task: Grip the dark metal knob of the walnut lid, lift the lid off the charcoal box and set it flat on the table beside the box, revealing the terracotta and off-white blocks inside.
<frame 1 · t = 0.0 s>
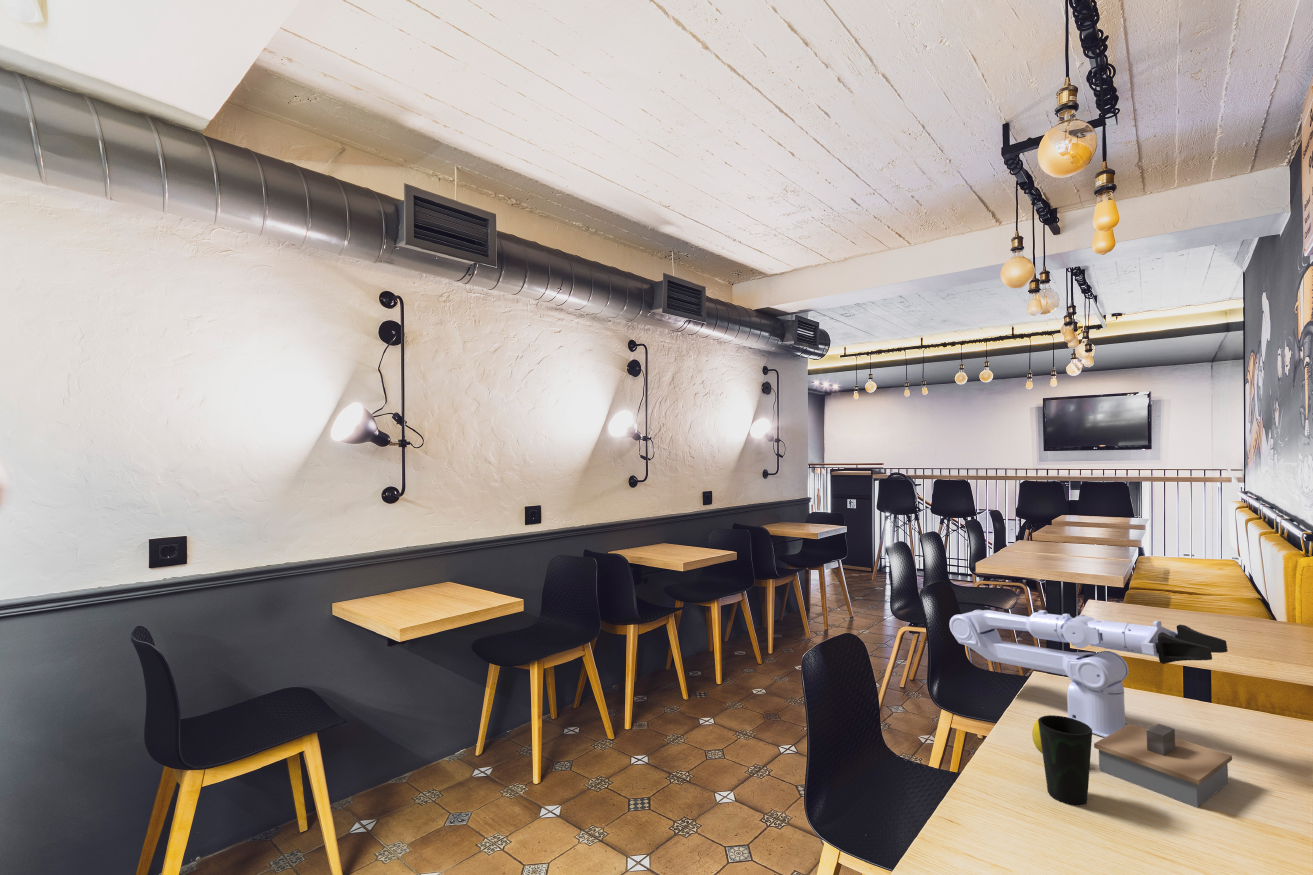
hand: (1218, 649, 111), 22 cm above the table, tool horizontal, fingers open, 7 cm apart
box: (1162, 776, 108), on the table
cup: (1067, 797, 102), on the table
offwhite block: (1174, 782, 105), point 1 cm above the table, touching box
lemon: (1049, 759, 115), on the table
terracotta block: (1151, 761, 112), point 1 cm above the table, touching box
lid: (1161, 753, 108), point 4 cm above the table, touching box
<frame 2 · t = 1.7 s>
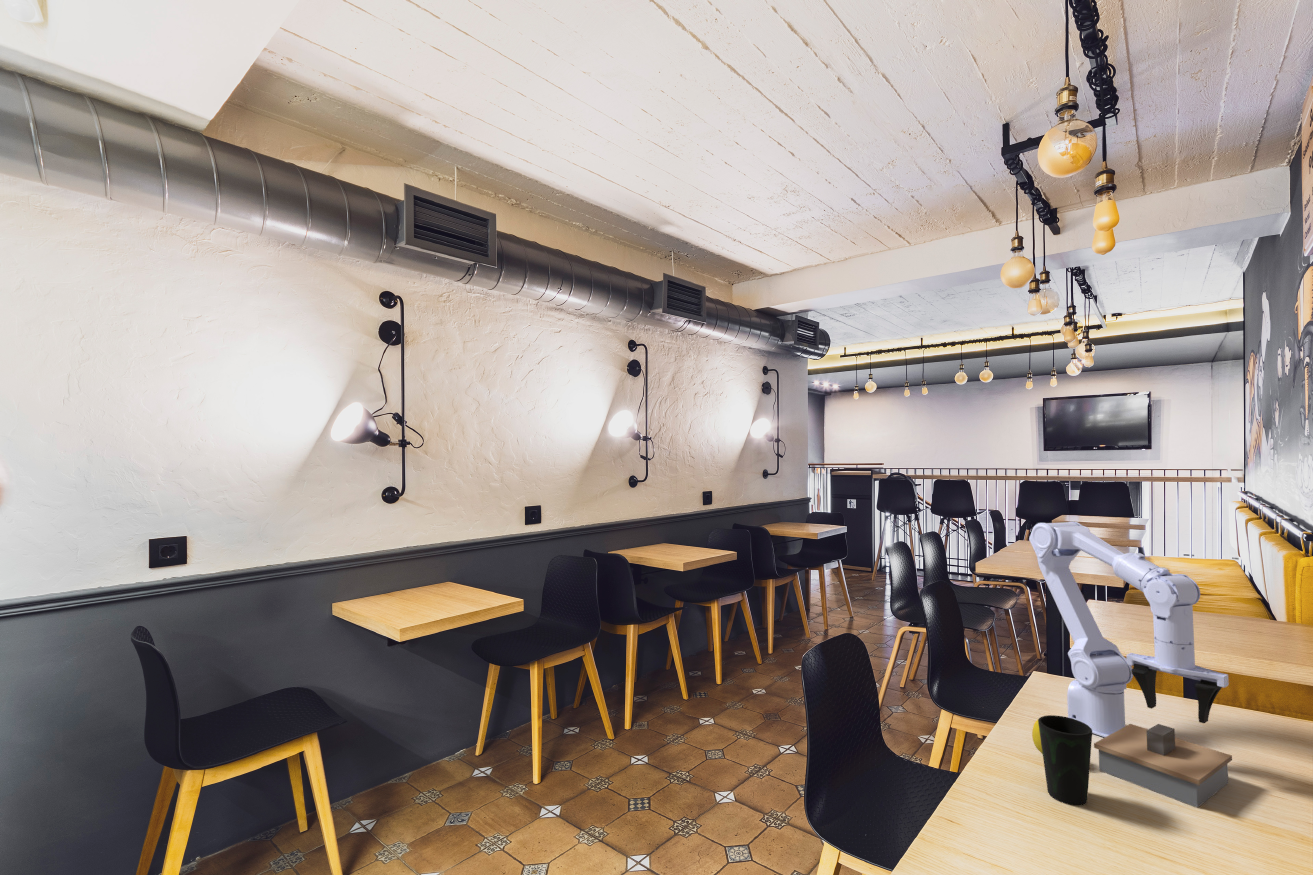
hand: (1176, 713, 112), 9 cm above the table, tool pointing down, fingers open, 7 cm apart
nothing on the table moved.
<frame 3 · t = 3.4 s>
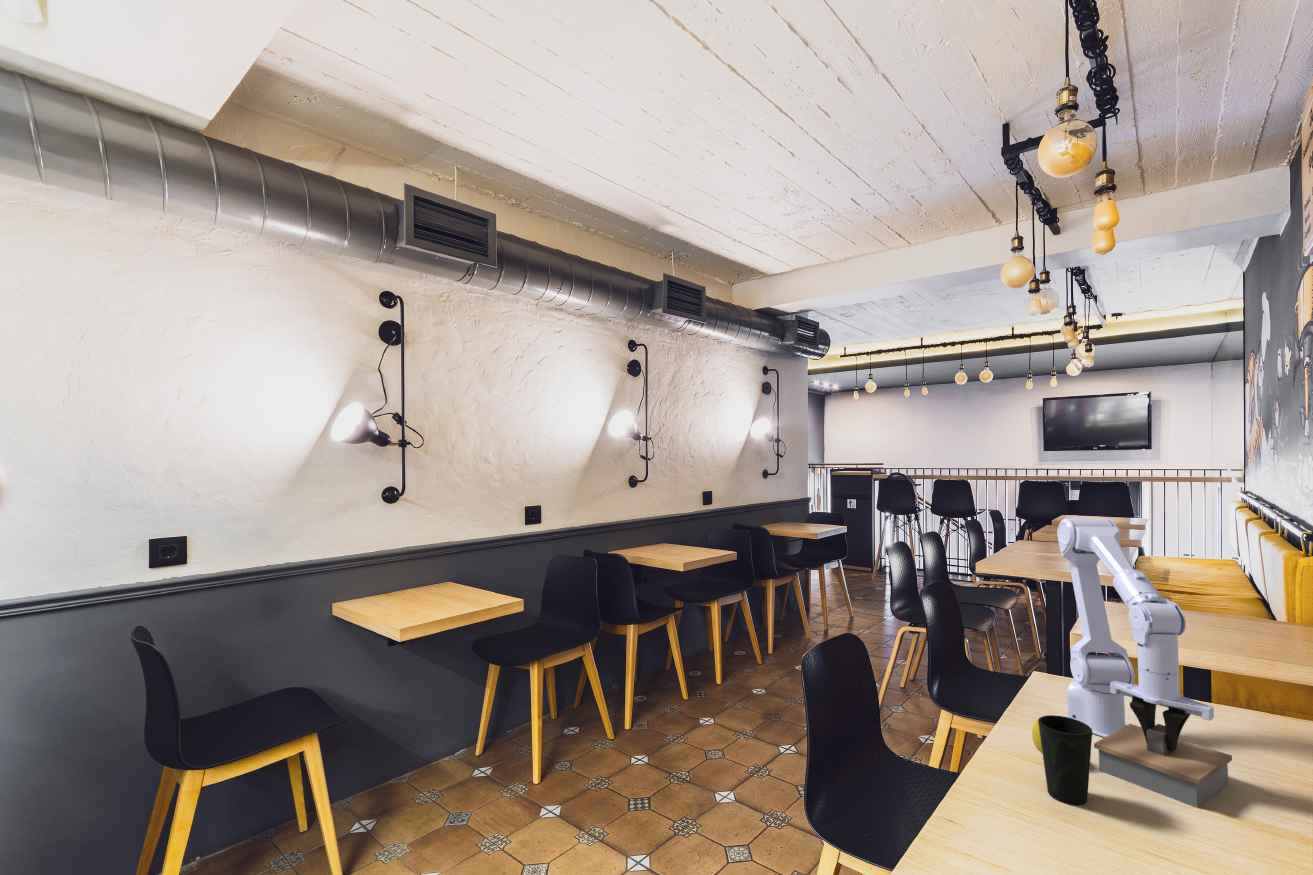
hand: (1161, 745, 108), 5 cm above the table, tool pointing down, fingers closed on lid, 2 cm apart
lid: (1161, 753, 108), point 4 cm above the table, touching box, gripper
everything else where it was.
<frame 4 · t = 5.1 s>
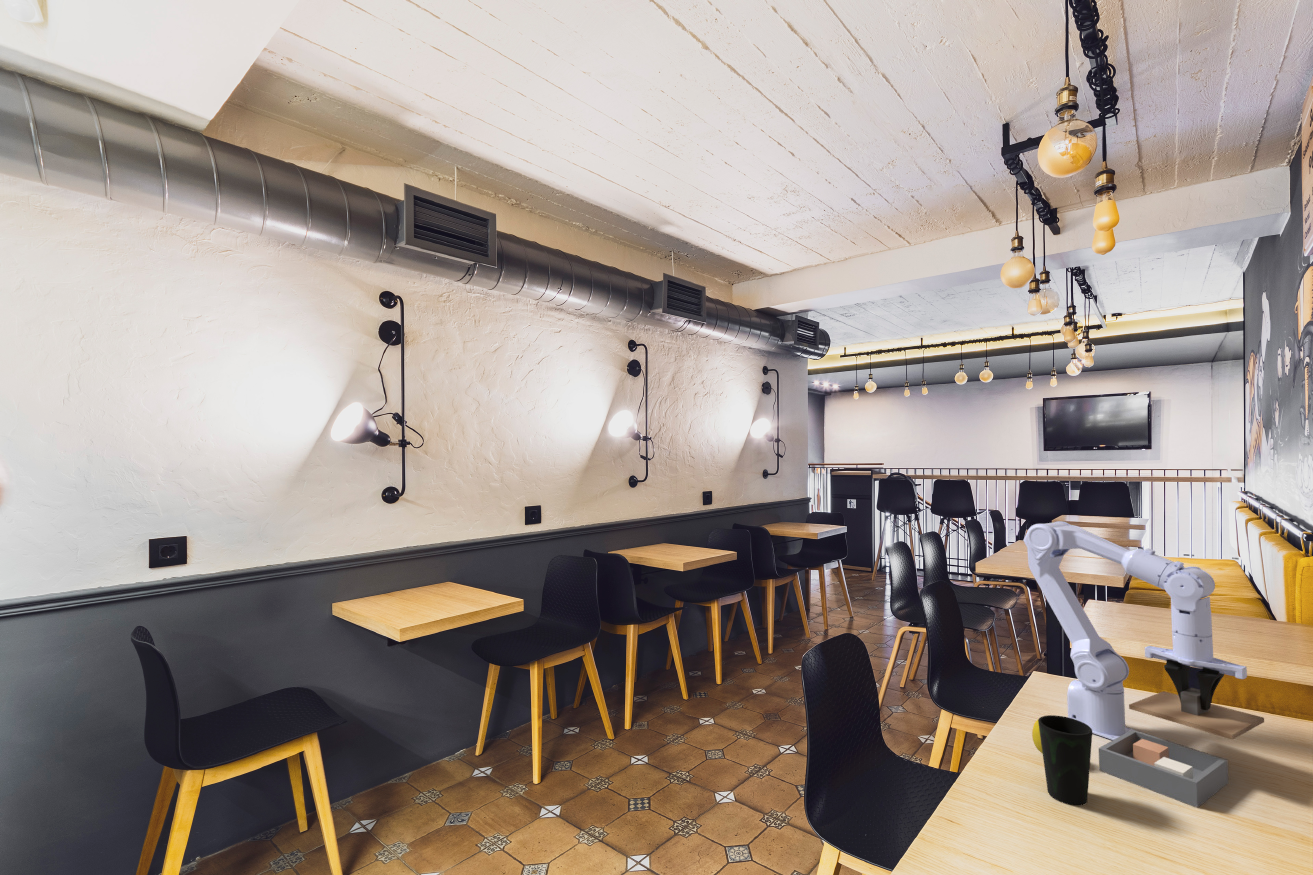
hand: (1195, 705, 113), 10 cm above the table, tool pointing down, fingers closed on lid, 2 cm apart
lid: (1195, 715, 113), point 9 cm above the table, touching gripper
everything else where it was.
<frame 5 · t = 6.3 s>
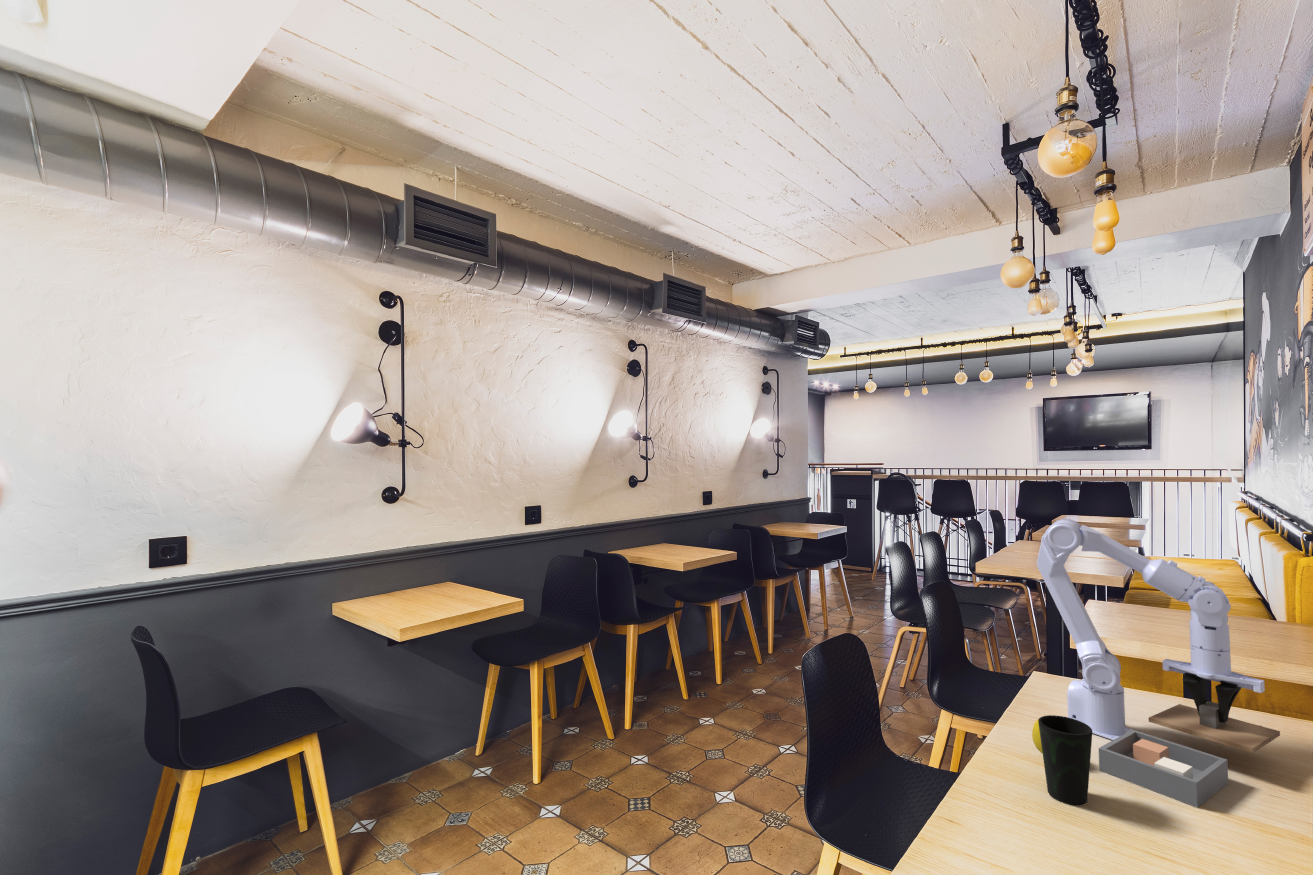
hand: (1213, 718, 116), 7 cm above the table, tool pointing down, fingers closed on lid, 2 cm apart
lid: (1212, 728, 116), point 5 cm above the table, touching gripper
everything else where it was.
when the fingers open (3 cm above the table, at t = 7.2 s): lid drops 2 cm, on the table.
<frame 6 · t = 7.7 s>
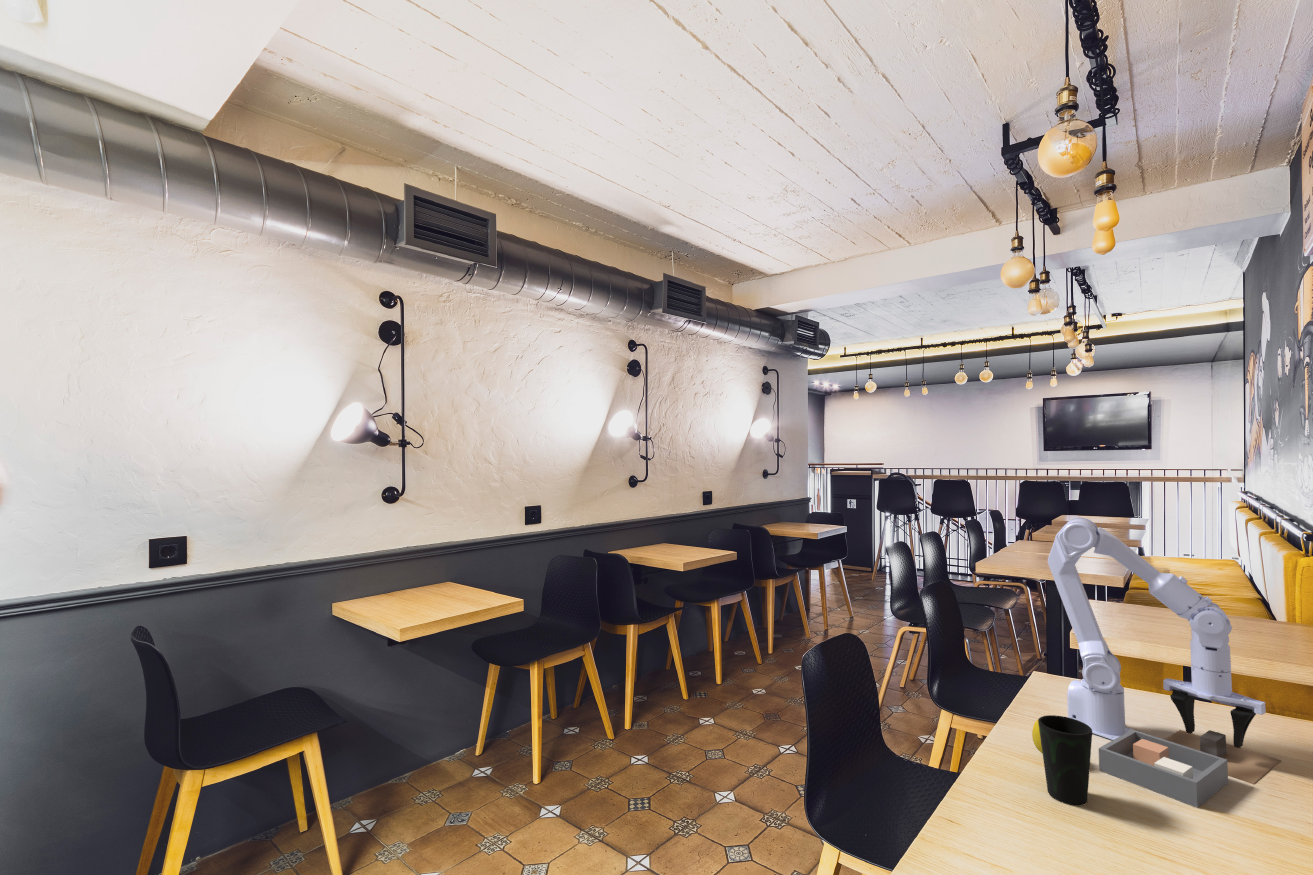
hand: (1213, 738, 116), 3 cm above the table, tool pointing down, fingers open, 6 cm apart
lid: (1213, 758, 116), on the table
everything else where it was.
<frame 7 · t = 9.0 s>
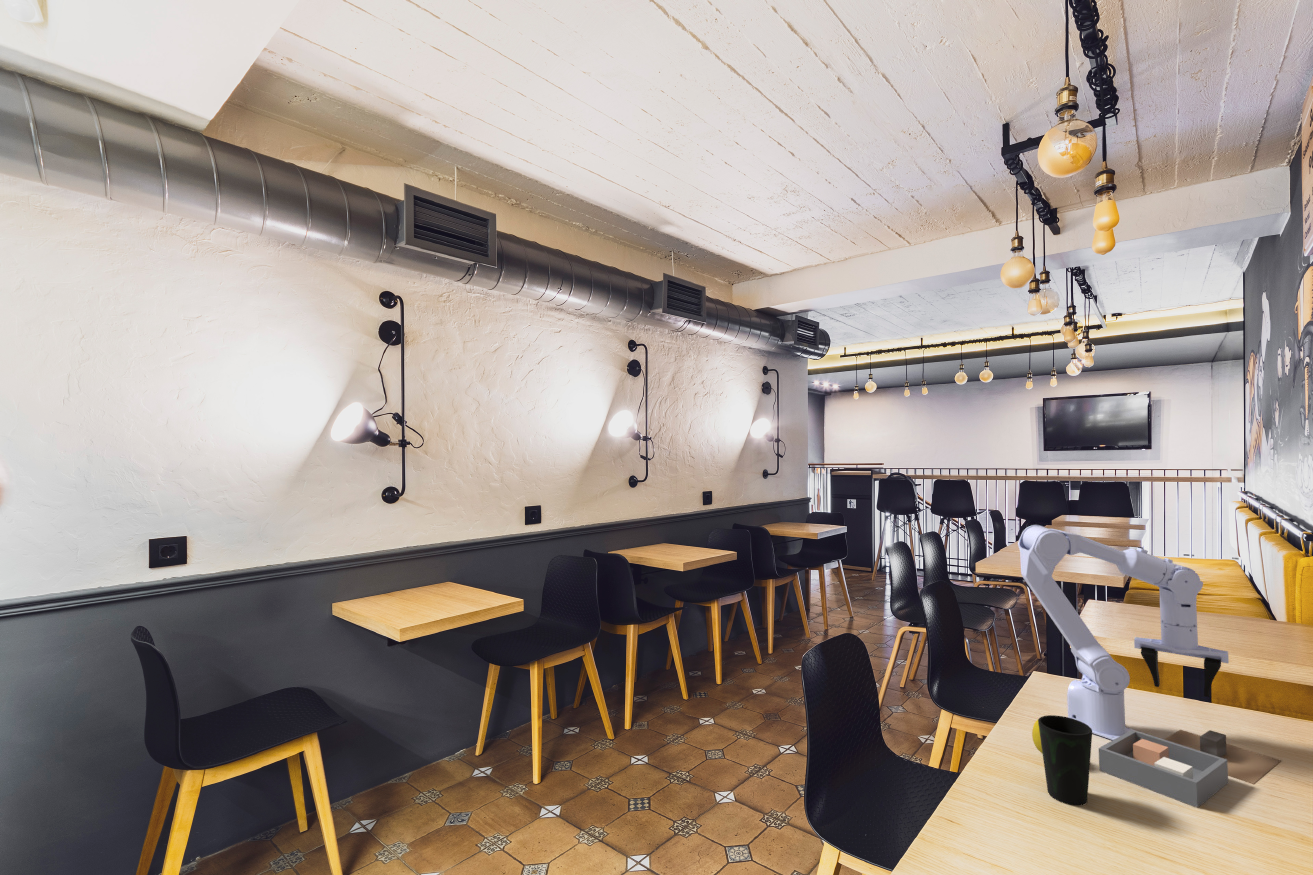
hand: (1181, 690, 123), 9 cm above the table, tool pointing down, fingers open, 7 cm apart
nothing on the table moved.
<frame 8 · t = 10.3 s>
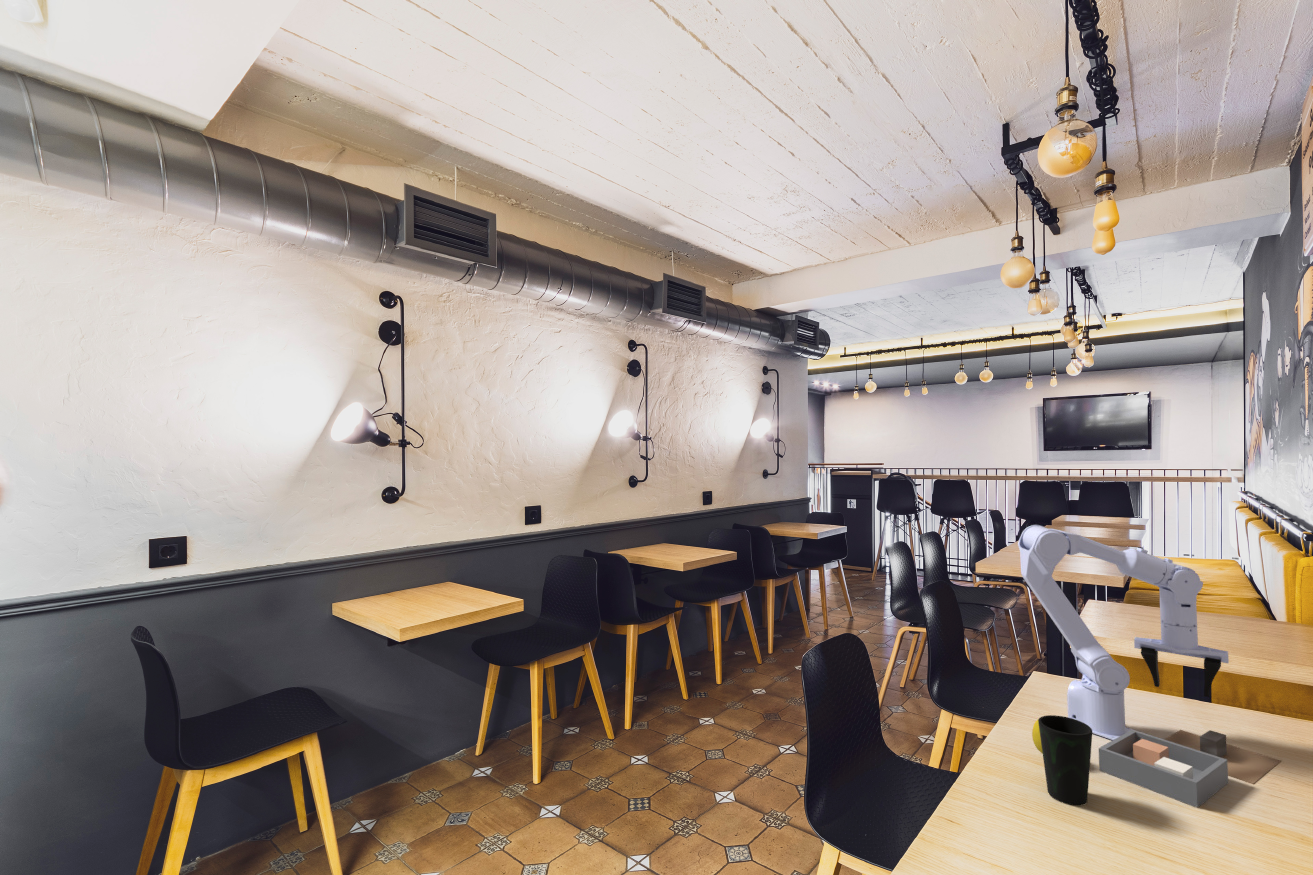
hand: (1181, 690, 123), 9 cm above the table, tool pointing down, fingers open, 7 cm apart
nothing on the table moved.
at the end: lid inside the target area (0.9 cm from its centre), on the table; lid tilted 0°; lid touching table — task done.
